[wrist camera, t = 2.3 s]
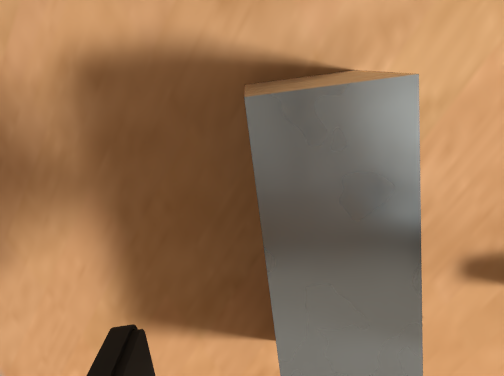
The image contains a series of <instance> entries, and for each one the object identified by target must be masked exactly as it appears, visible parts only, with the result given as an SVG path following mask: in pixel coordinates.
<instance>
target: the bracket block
mask: <svg viewBox="0 0 504 376" xmlns="http://www.w3.org/2000/svg"><path fill="white" fill-rule="evenodd" d="M244 100H245V107H246V115H247V123H248V130H249V138H250V145H251V153H252V161H253V168H254V176H255V184H256V191H257V199H258V207H259V214H260V222H261V230H262V237H263V245H264V253H265V260H266V268H267V276H268V283H269V291H270V298H271V306H272V314H273V321H274V329H275V337H276V344H277V352H278V360H279V367H280V375H281V376H423V352H422V279H421V205H420V131H419V74H409V73H393V72H377V71H360V70H352V71H344V72H337V73H329V74H322V75H314V76H307V77H299V78H292V79H284V80H276V81H269V82H261V83H254V84H246V85H245V91H244Z"/></svg>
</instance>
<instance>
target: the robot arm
mask: <svg viewBox="0 0 504 376" xmlns="http://www.w3.org/2000/svg"><path fill="white" fill-rule="evenodd" d="M87 376H155V372H154V368H153V364H152V360H151V355H150V351H149V347H148V343H147V339H146V335H145V332H144V330H143V329H140V330H138V329H137V327H136V325H127V326H120V327H113V328H111V329H110V331H109V333H108V335H107V337H106V339H105V341H104V343H103V345H102V347H101V349H100V350H99V352H98V354H97V356H96V358H95V360H94V362H93V364H92V366H91V368H90V370H89V372H88V374H87Z"/></svg>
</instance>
